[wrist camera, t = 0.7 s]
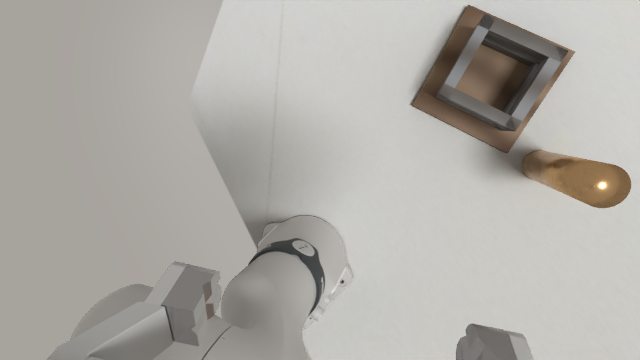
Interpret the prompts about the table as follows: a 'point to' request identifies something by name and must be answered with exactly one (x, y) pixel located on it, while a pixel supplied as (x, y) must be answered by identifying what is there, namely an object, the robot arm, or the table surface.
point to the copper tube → (579, 178)
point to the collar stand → (491, 78)
